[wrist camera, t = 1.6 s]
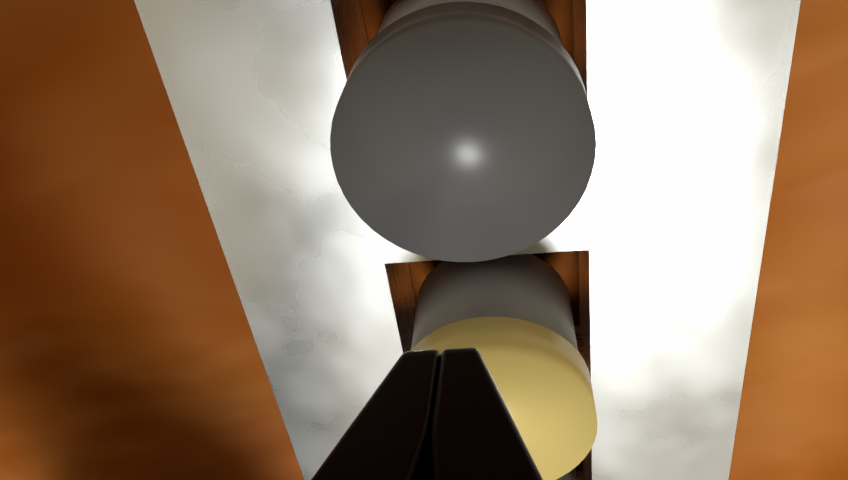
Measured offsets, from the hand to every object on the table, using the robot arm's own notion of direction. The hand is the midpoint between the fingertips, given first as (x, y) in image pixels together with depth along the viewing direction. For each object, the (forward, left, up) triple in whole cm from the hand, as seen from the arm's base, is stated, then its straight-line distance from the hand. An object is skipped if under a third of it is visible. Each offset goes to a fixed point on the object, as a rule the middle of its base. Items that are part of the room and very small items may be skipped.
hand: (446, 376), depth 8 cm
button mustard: (-7, 0, -9) cm, 12 cm away
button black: (0, 0, -9) cm, 9 cm away
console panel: (-7, 0, -12) cm, 13 cm away
